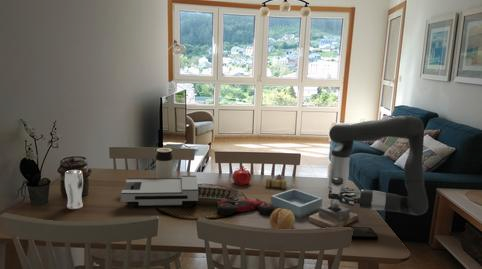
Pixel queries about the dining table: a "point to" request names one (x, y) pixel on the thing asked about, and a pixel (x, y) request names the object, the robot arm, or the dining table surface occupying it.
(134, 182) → the game console
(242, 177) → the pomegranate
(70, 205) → the beer glass
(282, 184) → the gavel
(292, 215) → the bread roll
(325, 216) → the peg hole base
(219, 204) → the toy motorcycle
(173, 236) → the dining table surface
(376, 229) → the dining table surface
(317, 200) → the tray
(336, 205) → the stop pin
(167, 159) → the travel mug
